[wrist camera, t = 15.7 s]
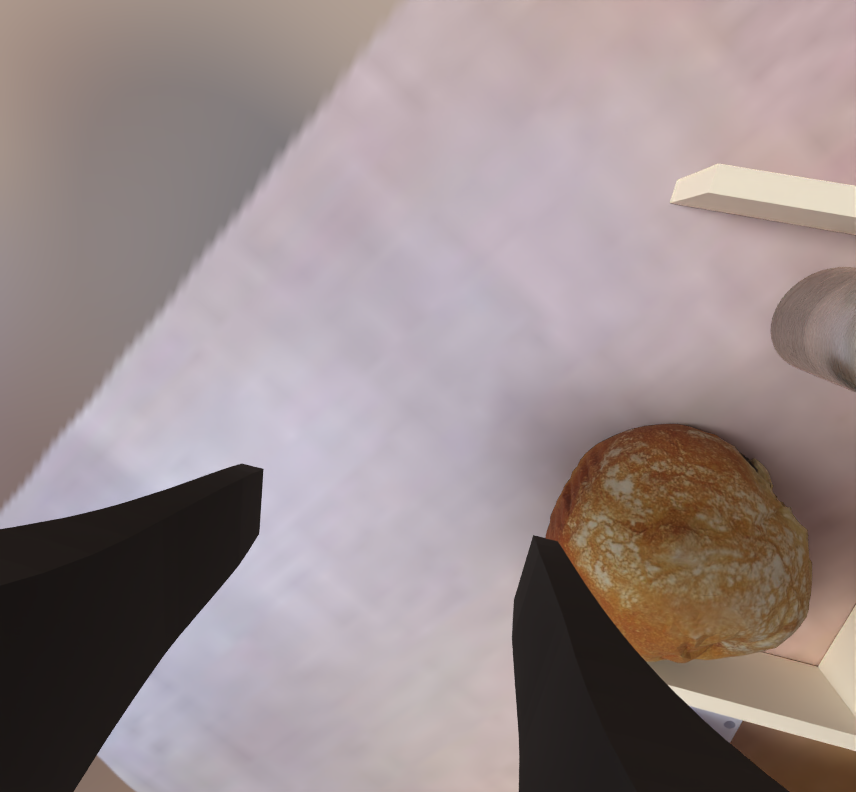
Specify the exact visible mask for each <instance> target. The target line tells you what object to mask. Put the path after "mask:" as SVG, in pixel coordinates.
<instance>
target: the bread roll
mask: <svg viewBox="0 0 856 792" xmlns="http://www.w3.org/2000/svg"><path fill="white" fill-rule="evenodd" d="M772 488H773V485H772V482H771V479H770V476H769V473H768V471H767V470H766V468H765V467H764V466H763V465H762V464H761V463H760V462H759V461H757V460H756V459H755V458H754V459H752V460H749V459H748V458H747V457H745V456H744V455H743V454H741V453H740V452H738V450H737V449H736V447H734V446H733V445H731V444H729V443H728V442H726V441H724V440H722V439H720V438H719V437H718V436H717V435H715V434H711V433H706V432H703V431H701V430H698V429H695V428H692V427H689V426H685V425H680V424H661V425H649V426H643V427H638V428H634V429H630V430H627V431H624V432H622V433H619V434H617V435H615V436H612V437H610V438H608V439H606V440H604V441H602V442H600V443H598V444H597V445H595V446H594V447H593V448H592V449H590V450H589V451H588V452H587V453H586V454H585V455H584V456H583V458H582V459H581V460H580V462H579V464H578V466H577V467H576V468H575V470H574V471H573V472H572V475H571V478H570V480H569V481H568V482H567V483H566V484H565V486H564V489H563V491H562V493H561V495H560V496H559V498H558V500H557V502H556V505H555V507H554V509H553V512H552V514H551V516H550V524H549V526H548V529H547V533H546V539H550V540H555V541H558V542H559V544H560V545H561V547H562V548H563V550H564V552H565V553H566V555H567V556H568V558H569V559H570V561H571V563H572V564H573V566H574V567H575V569H576V570H577V572H578V573H579V575H580V576H581V578H582V580H583V581H584V583H585V584H586V585H587V587H588V588H589V590H590V591H591V593H592V594H593V596H594V597H595V599H596V600H597V601H598V603H599V604H600V606H601V607H602V608H603V610H604V611H605V612H606V614H607V615H608V616H609V618H610V619H611V620H612V621H613V623H614V624H615V625H616V627H617V628H618V629H619V630H620V632H621V633H622V634H623V636H624V637H625V638H626V639H627V640H628V642H629V643H630V644H631V645H632V646H633V648H634V649H635V650H636V651H637V652H638V653H639V654H640V656H641V657H642V658H643V659H644V660H645V661H646V662H657V661H660V660H670V661H673V662H676V663H687V662H689V661H691V660H695V659H701V660H714V659H721V658H727V657H736V656H744V655H748V654H753V653H758V652H762V651H765V650H768V649H772V648H776V647H778V646H779V645H780V644H781V643H783V642H784V641H785V640H786V639H787V638H789V637H790V636H791V635H792V634H793V633H794V632H795V631H796V630H797V629H798V628H799V627H800V626H801V624H802V623H803V621H804V620H805V618H806V617H807V613H808V610H809V600H810V596H811V585H812V562H811V561H810V559H809V550H808V533H807V531H808V530H807V529H805V528H804V527H803V526H802V525H801V524H800V523H799V522H798V521H797V520H796V518H795V517H794V516H793V514H792V510H791V507H789V508H788V507H785V505H784V504H783V502H780V501H779V500H777V496H776V495H775V494H774V493H773V492H772Z"/></svg>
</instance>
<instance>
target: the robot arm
mask: <svg viewBox="0 0 856 792" xmlns="http://www.w3.org/2000/svg"><path fill="white" fill-rule="evenodd" d="M262 483H263V469H261V468H257V467H253V466H249V465H245V464H239V465H235V466H232V467H229V468H226V469H223V470H220V471H217V472H214V473H211V474H208V475H206V476H203V477H200V478H197V479H195V480H192V481H189V482H186V483H183V484H180V485H178V486H175V487H172V488H169V489H166V490H163V491H160V492H157V493H154V494H151V495H147V496H144V497H141V498H138V499H135V500H132V501H128V502H125V503H122V504H118V505H115V506H111V507H107V508H104V509H100V510H96V511H92V512H87V513H83V514H79V515H75V516H70V517H66V518H61V519H56V520H50V521H45V522H39V523H34V524H28V525H23V526H17V527H12V528H5V529H0V792H74V790H75V788H76V787H77V785H78V783H79V782H80V780H81V779H82V777H83V776H84V774H85V773H86V771H87V769H88V768H89V766H90V765H91V763H92V761H93V760H94V758H95V757H96V755H97V754H98V752H99V750H100V749H101V747H102V746H103V744H104V743H105V741H106V739H107V738H108V736H109V735H110V733H111V732H112V730H113V729H114V727H115V726H116V724H117V723H118V721H119V720H120V718H121V717H122V715H123V714H124V712H125V711H126V709H127V708H128V706H129V705H130V703H131V702H132V700H133V699H134V697H135V696H136V694H137V693H138V692H139V690H140V689H141V687H142V686H143V684H144V683H145V682H146V680H147V679H148V677H149V676H150V674H151V673H152V672H153V670H154V669H155V667H156V666H157V664H158V663H159V662H160V660H161V659H162V657H163V656H164V655H165V653H166V652H167V651H168V649H169V648H170V647H171V646H172V644H173V643H174V642H175V641H176V639H177V638H178V637H179V636H180V634H181V633H182V632H183V631H184V630H185V628H186V627H187V626H188V625H189V624H190V623H191V621H192V620H193V619H194V618H195V617H196V616H197V614H198V613H199V612H200V611H201V610H202V609H203V607H204V606H205V605H206V604H207V603H208V602H209V600H210V599H211V598H212V597H213V596H214V594H215V593H216V592H217V591H218V590H219V589H220V587H221V586H222V585H223V584H224V583H225V581H226V580H227V579H228V578H229V577H230V575H231V574H232V573H233V572H234V571H235V569H236V568H237V567H238V566H239V564H240V563H241V561H242V560H243V558H244V557H245V555H246V554H247V552H248V551H249V549H250V548H251V546H252V544H253V543H254V541H255V539H256V538H257V536H258V535H259V529H260V514H261V498H262ZM512 645H513V661H514V675H515V689H516V703H517V717H518V731H519V757H520V758H519V792H789V791H788V790H787V789H785V788H784V787H783V786H781V785H780V784H779V783H777V782H776V781H775V780H774V779H772V778H771V777H770V776H768V775H767V774H766V773H765V772H763V771H762V770H761V769H760V768H758V767H757V766H756V765H755V764H754V763H753V762H751V761H750V760H749V759H748V758H747V757H745V756H744V755H743V754H742V753H741V752H740V751H738V750H737V749H736V748H735V747H734V746H732V745H731V744H730V742H731V740H732V739H733V737H734V735H735V733H736V732H737V730H738V728H739V726H740V725H741V723H742V721H743V720H740V719H736V718H732V717H729V716H725V715H721V714H718V713H714V712H710V711H707V710H703V709H699V708H695V707H692V706H689V705H688V704H686V703H685V702H684V701H683V700H682V699H681V698H680V697H679V696H678V695H677V694H676V693H675V692H674V691H673V690H672V689H671V688H670V687H669V686H668V685H667V684H666V683H665V682H664V681H663V680H662V679H661V678H660V677H659V675H658V674H657V673H656V672H655V671H654V670H653V669H652V668H651V667H650V666H649V664H648V663H647V662H646V661H645V660H644V659H643V658H642V657H641V656H640V654H639V653H638V652H637V651H636V650H635V649H634V648H633V646H632V645H631V644H630V643H629V642H628V640H627V639H626V638H625V637H624V636H623V634H622V633H621V632H620V630H619V629H618V628H617V627H616V625H615V624H614V623H613V621H612V620H611V619H610V618H609V616H608V615H607V614H606V612H605V611H604V610H603V608H602V607H601V606H600V604H599V603H598V601H597V600H596V599H595V597H594V596H593V594H592V593H591V591H590V590H589V588H588V587H587V585H586V584H585V583H584V581H583V580H582V578H581V576H580V575H579V573H578V572H577V570H576V569H575V567H574V566H573V564H572V563H571V561H570V559H569V558H568V556H567V555H566V553H565V552H564V550H563V548H562V547H561V545H560V544H559V542H558V541H555V540H550V539H546V538H542V537H538V536H534V535H533V538H532V542H531V545H530V548H529V552H528V555H527V558H526V562H525V565H524V568H523V572H522V575H521V578H520V582H519V585H518V588H517V592H516V595H515V598H514V610H513V630H512Z"/></svg>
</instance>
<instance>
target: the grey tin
mask: <svg viewBox="0 0 856 792" xmlns="http://www.w3.org/2000/svg"><path fill="white" fill-rule="evenodd" d="M771 338H772V342H773V345H774V347H775V350H776V351H777V353H778V354H779V356H780V357H781V358H782V359H783V360H784V361H786V362H787V363H788V364H790V365H792V366H794V367H796V368H798V369H801V370H803V371H805V372H808V373H810V374H813V375H815V376H817V377H820V378H822V379H825V380H827V381H830V382H832V383H834V384H837V385H839V386H842V387H844V388H847V389H849V390H851V391H854V392H856V268H851V267H837V268H830V269H826V270H822V271H819V272H817V273H814V274H812V275H810V276H808V277H806V278H804V279H803V280H801V281H800V282H798V283H797V284H796V285H795V286H793V287H792V288H791V289H790V290H789V291H788V292H787V293H786V294H785V296H784V297H783V298H782V299H781V301H780V303H779V304H778V306H777V308H776V310H775V312H774V315H773V318H772V323H771Z"/></svg>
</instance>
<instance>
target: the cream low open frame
mask: <svg viewBox="0 0 856 792" xmlns="http://www.w3.org/2000/svg"><path fill="white" fill-rule="evenodd" d="M670 203H672V204H678V205H684V206H689V207H695V208H701V209H707V210H713V211H718V212H724V213H730V214H736V215H742V216H748V217H753V218H759V219H765V220H771V221H777V222H782V223H788V224H794V225H800V226H806V227H812V228H817V229H823V230H829V231H835V232H841V233H846V234H852V235H856V186H853V185H847V184H841V183H835V182H828V181H822V180H816V179H810V178H804V177H798V176H791V175H785V174H779V173H773V172H767V171H761V170H754V169H748V168H742V167H736V166H730V165H724V164H716V165H714V166H711V167H709V168H706V169H704V170H701V171H699V172H696V173H694V174H691V175H688V176H686V177H683V178H681V179H678V180H677V182H676V185H675V188H674V191H673V194H672V197H671V201H670ZM647 663H648V664H649V666H650V667H651V668H652V669H653V670H654V671H655V672H656V673H657V674H658V675H659V677H660V678H661V679H662V680H663V681H664V682H665V683H666V684H667V685H668V686H669V687H670V688H671V689H672V690H673V691H674V692H675V693H676V694H677V695H678V696H679V697H680V698H681V699H682V700H683V701H684V702H685V703H686V704H688V705H689V706H692V707H695V708H699V709H703V710H707V711H710V712H714V713H718V714H721V715H725V716H729V717H732V718H736V719H740V720H743V721H747V722H751V723H754V724H758V725H762V726H765V727H769V728H773V729H776V730H780V731H784V732H787V733H791V734H795V735H798V736H802V737H806V738H809V739H813V740H817V741H820V742H824V743H828V744H831V745H835V746H839V747H842V748H846V749H850V750H853V751H856V605H855V607H854V609H853V610H852V612H851V613H850V615H849V617H848V618H847V620H846V622H845V623H844V625H843V627H842V628H841V630H840V631H839V633H838V635H837V636H836V638H835V640H834V641H833V643H832V644H831V646H830V648H829V649H828V651H827V653H826V654H825V656H824V657H823V659H822V661H821V662H820V664H819V666H818V667H817V666H813V665H809V664H805V663H802V662H798V661H794V660H790V659H786V658H782V657H778V656H774V655H771V654H767V653H763V652H758V653H753V654H748V655H744V656H736V657H727V658H721V659H714V660H701V659H695V660H691V661H689V662H687V663H676V662H673V661H670V660H660V661H657V662H647Z"/></svg>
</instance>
